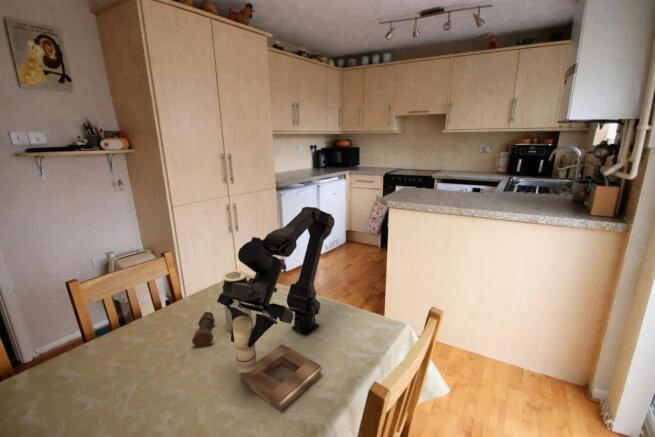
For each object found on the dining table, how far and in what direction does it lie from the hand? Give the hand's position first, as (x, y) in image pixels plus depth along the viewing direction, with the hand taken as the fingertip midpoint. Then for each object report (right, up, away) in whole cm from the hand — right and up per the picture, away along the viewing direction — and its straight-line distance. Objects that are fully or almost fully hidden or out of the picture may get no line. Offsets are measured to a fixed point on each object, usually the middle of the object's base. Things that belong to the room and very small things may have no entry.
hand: (240, 344), depth 70 cm
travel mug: (-9, -7, +31) cm, 33 cm away
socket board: (+8, -12, +8) cm, 17 cm away
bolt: (-19, -8, +28) cm, 35 cm away
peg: (+1, -6, +3) cm, 7 cm away
